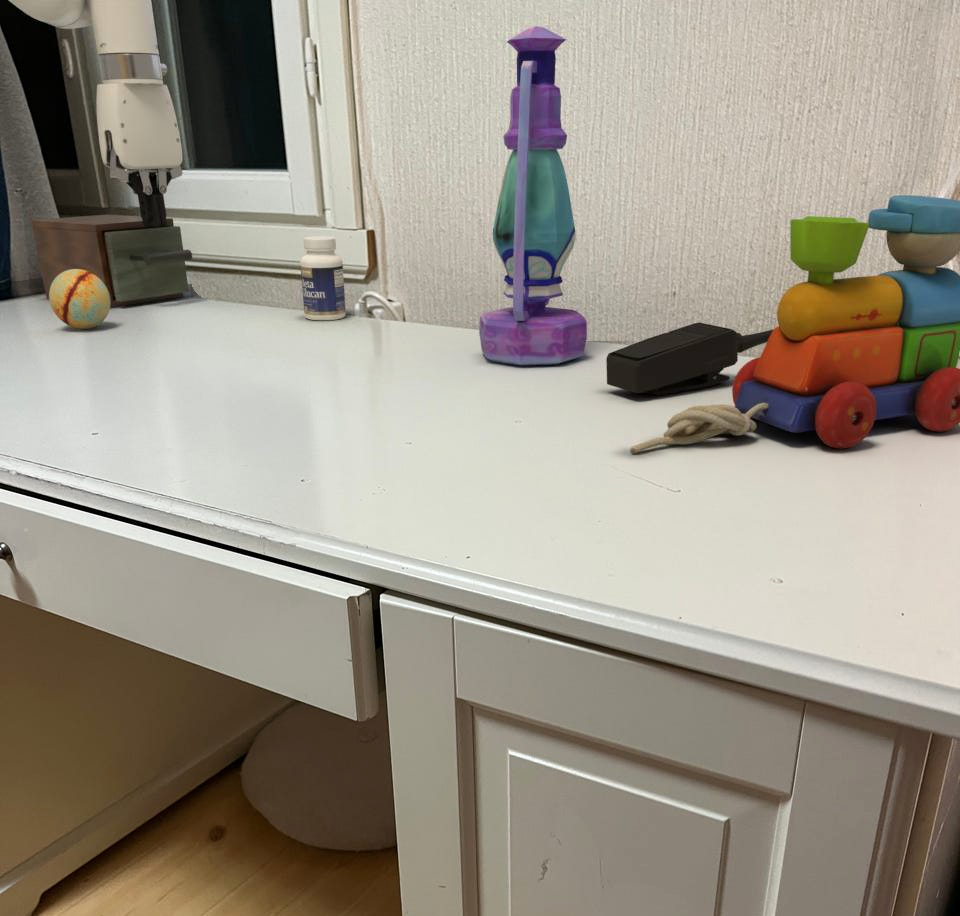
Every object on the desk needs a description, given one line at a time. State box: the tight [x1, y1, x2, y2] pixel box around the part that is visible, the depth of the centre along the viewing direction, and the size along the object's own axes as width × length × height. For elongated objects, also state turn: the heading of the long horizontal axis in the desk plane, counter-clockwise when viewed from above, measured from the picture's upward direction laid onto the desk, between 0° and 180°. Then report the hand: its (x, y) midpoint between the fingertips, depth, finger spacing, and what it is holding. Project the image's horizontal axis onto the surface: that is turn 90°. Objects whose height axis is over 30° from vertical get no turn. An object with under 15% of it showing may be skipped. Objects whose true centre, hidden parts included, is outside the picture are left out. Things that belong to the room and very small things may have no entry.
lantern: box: [478, 25, 588, 366], centre depth 98 cm, size 13×12×30 cm
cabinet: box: [30, 214, 185, 309], centre depth 144 cm, size 16×13×11 cm
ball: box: [48, 269, 111, 330], centre depth 121 cm, size 7×7×7 cm
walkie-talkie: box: [605, 322, 774, 396], centre depth 92 cm, size 6×6×20 cm
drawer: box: [101, 225, 193, 302], centre depth 141 cm, size 20×12×9 cm, turn 53°
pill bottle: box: [299, 235, 347, 321], centre depth 127 cm, size 5×5×10 cm
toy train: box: [629, 194, 960, 454], centre depth 74 cm, size 12×29×17 cm, turn 115°
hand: (155, 225), depth 135 cm, fingers closed
